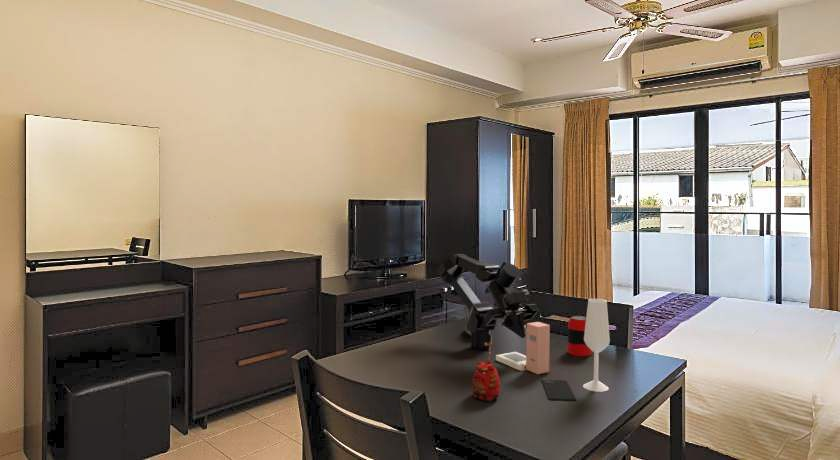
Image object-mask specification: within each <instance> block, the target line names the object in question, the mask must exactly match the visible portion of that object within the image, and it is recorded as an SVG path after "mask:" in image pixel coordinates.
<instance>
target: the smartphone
mask: <svg viewBox="0 0 840 460" xmlns="http://www.w3.org/2000/svg"><path fill="white" fill-rule="evenodd" d="M540 382H541V384H542V387H543V389H544V392H545V395H546V398H547V400H548V401H555V402H556V401H565V402H577V397H576V396H575V394H574V392H573V390H572V389H571V386H570V385H569V383H568V381H567V380H564V379H561V380H560V379H541V381H540Z"/></svg>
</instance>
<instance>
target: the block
mask: <svg viewBox="0 0 840 460" xmlns="http://www.w3.org/2000/svg"><path fill="white" fill-rule="evenodd" d="M550 329H551V326H550V324H547V323H544V322H540V321H535V322H528V323H526V337H525V338H526V343H525V344H526V345H525V346H526V350H525V351H526V355H525V356H526V370H525V371H529V372H531V373H534V374H535V375H540V374H546V373H549V372H550V341H551V339H550V337H551V336H550V334H551V332H550Z"/></svg>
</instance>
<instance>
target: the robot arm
mask: <svg viewBox="0 0 840 460" xmlns="http://www.w3.org/2000/svg"><path fill="white" fill-rule="evenodd" d="M464 270H466V271H468V272H471V273H472V274H474V275H475V276H474V277H475V278H476V279H477V280H478V281H480V282H481V283H489V284H486V285H485V286H486V287H485V290H484V293H485V294H489V295H491V297H492V300H493V301H494V303H493V306H494V308H493V306H492V304H491V303H489V301H486V302H481V300H480V299H479V298H478V296H477V295H476V294H475V292H474V291H473V290H472V288H471V287H470V285H469V284H468V283H467V282H466V280H465V279H464V277H463V272H464ZM437 274H438V276H439V278H440V279H441V280H442V281H443V282H444V283H446V284H448V285H451V287H452V288H453V289H454V291H455V292H456V293H457V295H458V296H459V298H460V299H461V301H462V303H464V305H465V307H466V308H467V309H468V310H469V319H468V320H469V321H468V320H467V321H468V322H467V321H466V322H467V323H466V322H465V323H466V324H465V326H466V327H467V330H469V331H471V335H470V347H469V349H470V350H477V351H478V350H481V351H489V346H488V345H487V346H485V342H487V344H489V342H490V341H491V339H492V340H493V337H492V336H493V334H492V333H491V331H495V328H496V324H497V320H500V319H501V321H502V322H501V324H500V325H501V326H502V327H505V328H506V329H508V330H510V331H511V332H513V333H514V334H515V335H517V336H518V337H520V338H521V339H525V338H526V337H527V334H526V330H525V329H526V328H525V322H526V321H530V320H532V319H533V318H534V317H535V316H536V315H537V314H538V313H539V311H540V308H539V307H538V305H537V304H536V303H529V304H524V306H523V303H525V302H528V300H529V299H530V298H531V295H530V292H529V291H528V289H526V288H525V289H522V290H519V291H516V292H515V291H514V292H510V290H509V289H510V288H511V287H512V286H513V285H514V283H515V282H516V281H517V279H518V278H519V277H520V276H521V271H520V269H519V267H517V266H516V265H514V264H512V263H511V262H510V261H505V260H504V261H502V264H501V266H500V265H498V264H497V263H490V262H489V263H487V262H485V263H484V262H481V261H479V260H477V259H474V258H472V257H469V256H468V255H466V254H464V253H457V254H456V253H455V254H453V255H451V257H450V258H448V259H446V260H445V261H442V263H441V264H440V265H439V267H438V268H437ZM508 288H509V289H508ZM522 306H523V308H522V309H520V308H521V307H522ZM491 343H492V345H493V341H492V342H491ZM492 345H491V347H492Z"/></svg>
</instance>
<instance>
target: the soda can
mask: <svg viewBox="0 0 840 460" xmlns="http://www.w3.org/2000/svg"><path fill="white" fill-rule="evenodd" d="M585 324H586V316H581V315H578V316H577V315H575V316H571V317H570V319H569V320H568V321H567V353H568V354H569V355H570V356H575V357H583V358H584V357H589V356H590V355H591V354H592V350H591V349H590V348H589V347H588V346H587V345H586V343H585V342H584V333H585Z"/></svg>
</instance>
